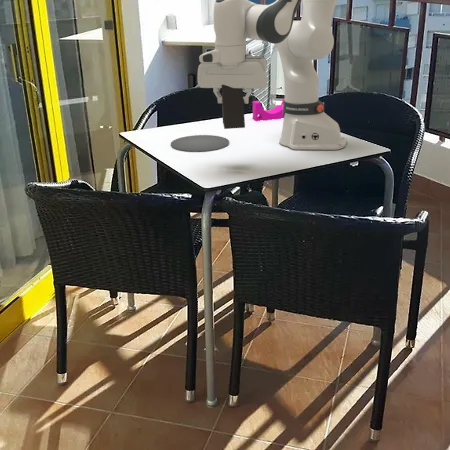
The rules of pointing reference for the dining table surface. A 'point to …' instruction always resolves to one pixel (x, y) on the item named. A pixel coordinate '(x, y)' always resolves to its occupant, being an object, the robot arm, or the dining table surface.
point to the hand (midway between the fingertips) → (233, 103)
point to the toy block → (267, 112)
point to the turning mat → (199, 143)
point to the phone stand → (232, 107)
